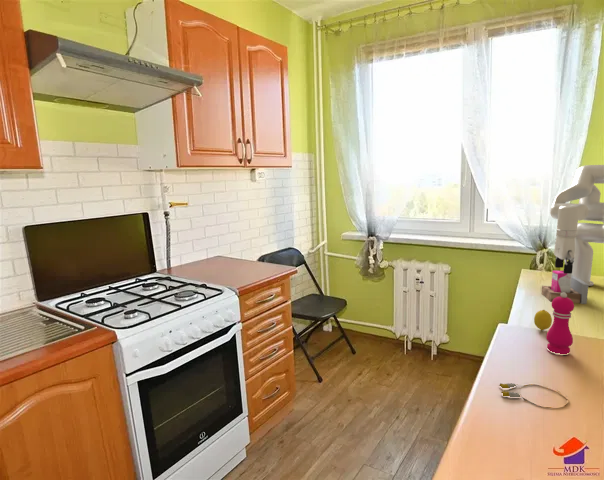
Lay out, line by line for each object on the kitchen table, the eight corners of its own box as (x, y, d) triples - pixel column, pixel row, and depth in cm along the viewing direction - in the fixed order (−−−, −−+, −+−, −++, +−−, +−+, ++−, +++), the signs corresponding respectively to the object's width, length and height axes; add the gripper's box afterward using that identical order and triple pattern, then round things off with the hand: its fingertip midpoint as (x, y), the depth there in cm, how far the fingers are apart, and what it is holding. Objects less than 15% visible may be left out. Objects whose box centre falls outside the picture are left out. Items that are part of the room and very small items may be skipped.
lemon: (549, 328, 145) (551, 308, 144) (551, 334, 140) (553, 313, 139) (532, 326, 148) (534, 306, 146) (534, 332, 143) (535, 311, 141)
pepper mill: (567, 348, 129) (573, 290, 126) (574, 358, 122) (581, 296, 119) (542, 345, 131) (547, 288, 128) (548, 355, 125) (553, 294, 121)
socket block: (541, 293, 186) (542, 285, 186) (568, 295, 183) (569, 287, 183) (550, 301, 175) (551, 292, 174) (579, 303, 172) (580, 294, 172)
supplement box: (563, 294, 182) (565, 270, 180) (570, 298, 176) (572, 273, 174) (550, 293, 183) (552, 270, 181) (556, 297, 177) (558, 273, 175)
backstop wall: (566, 293, 187) (568, 275, 186) (570, 293, 187) (572, 275, 185) (581, 304, 172) (583, 284, 170) (586, 304, 171) (588, 284, 170)
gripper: (549, 230, 184) (547, 265, 187) (564, 237, 167) (561, 275, 170) (567, 230, 182) (564, 265, 185) (584, 237, 165) (581, 275, 169)
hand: (563, 270), depth 178 cm, fingers open, 9 cm apart
